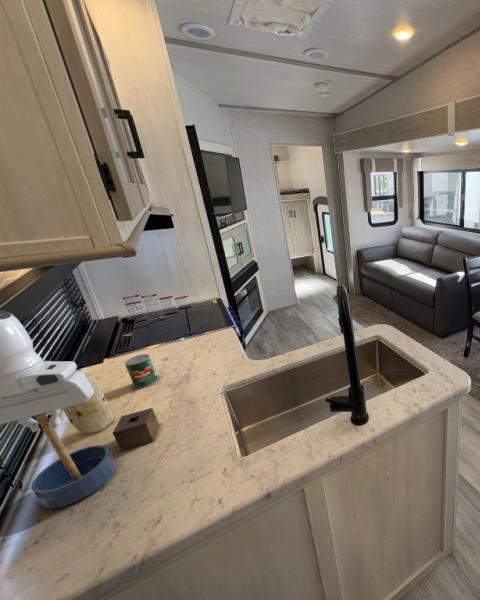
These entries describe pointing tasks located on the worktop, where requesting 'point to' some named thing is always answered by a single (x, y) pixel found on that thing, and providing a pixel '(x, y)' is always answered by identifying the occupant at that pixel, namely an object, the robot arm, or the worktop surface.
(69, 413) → the food model
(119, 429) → the holder
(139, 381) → the canned tomato
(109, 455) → the bowl
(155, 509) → the worktop surface
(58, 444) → the stick
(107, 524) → the worktop surface
